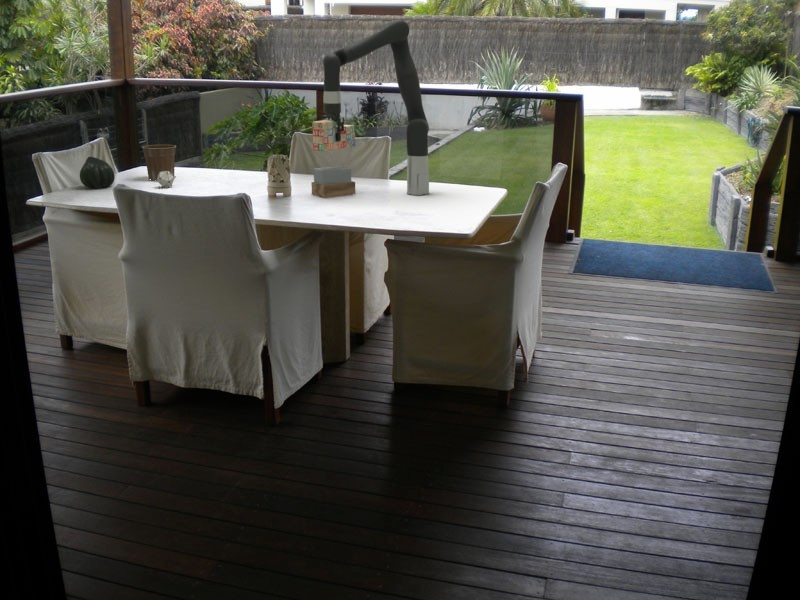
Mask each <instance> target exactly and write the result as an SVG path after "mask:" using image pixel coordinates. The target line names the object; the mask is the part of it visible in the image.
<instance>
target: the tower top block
mask: <svg viewBox="0 0 800 600" xmlns="http://www.w3.org/2000/svg"><path fill="white" fill-rule="evenodd" d="M351 181H352V168H349V167H347V166H342V165H340V166H329V167H316V168H315V167H314V168H313V182H316V183H319V184H321V185H327V184H339V183H350V182H351Z"/></svg>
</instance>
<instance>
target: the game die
mask: <svg viewBox="0 0 800 600" xmlns="http://www.w3.org/2000/svg"><path fill="white" fill-rule="evenodd" d="M176 177H177V176H175V175H174V176H173V175H172V174H171V173H170V172H169V170H168V171H162V172H160V171H159V175H158V178H157V180H156V181H155V182H157V183H158V184H159V185H160V186H161V188H162V189H164V188H165V187H172V186H173V183H174V180H175V178H176Z"/></svg>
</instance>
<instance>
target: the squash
mask: <svg viewBox="0 0 800 600" xmlns="http://www.w3.org/2000/svg"><path fill="white" fill-rule="evenodd" d="M115 175H116V174H115V172H114V169H113V168H112V166H111V165H110V164H109V163H108V162H106V161H105V160H103V159H100V158H97V157H94V156H88V157H87V158H86V159H85V161H84V164H83V165H82V167H81V169H80V171H79V180H80V182H81V183H82V184H83V186H85V187H86V188H88V187H89V189H91V188H94V189H97V190H98V188H99V189H101V188H103V187H104V188H107V187H109V188H110V186H112V185H113V184H114V182H115Z"/></svg>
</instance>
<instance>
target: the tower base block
mask: <svg viewBox="0 0 800 600" xmlns="http://www.w3.org/2000/svg"><path fill="white" fill-rule="evenodd" d="M312 194H313V195H312ZM353 194H355V195H356V181H353V180H351V182H350V183H339V184H327V185H321V184H319V183H316V182H314V181H311V195H312V196H315V195H316V197H318V196H319V198H322V199H329V198H339V197H345V196H346V195H348V196H354V195H353ZM346 197H347V196H346Z"/></svg>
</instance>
